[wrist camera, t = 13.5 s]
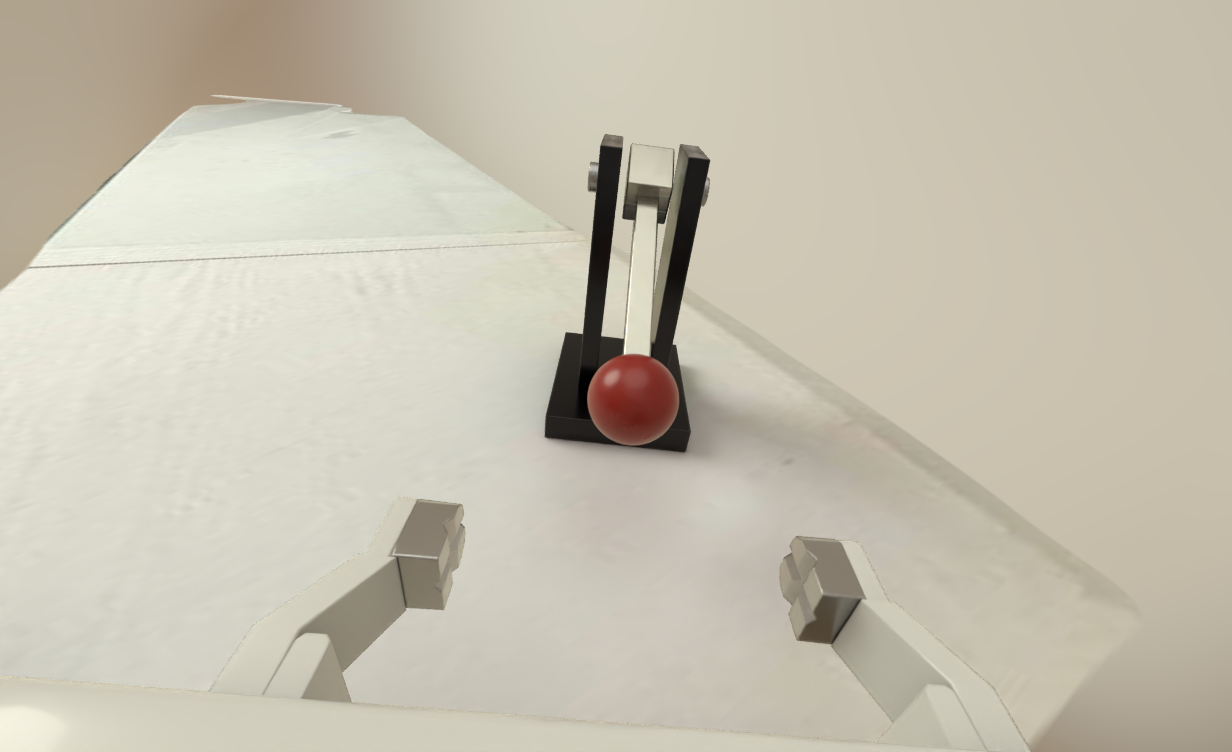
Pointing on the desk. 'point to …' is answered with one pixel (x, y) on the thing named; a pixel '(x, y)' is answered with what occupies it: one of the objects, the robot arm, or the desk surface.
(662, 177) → the lever
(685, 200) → the black lever base
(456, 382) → the desk surface
